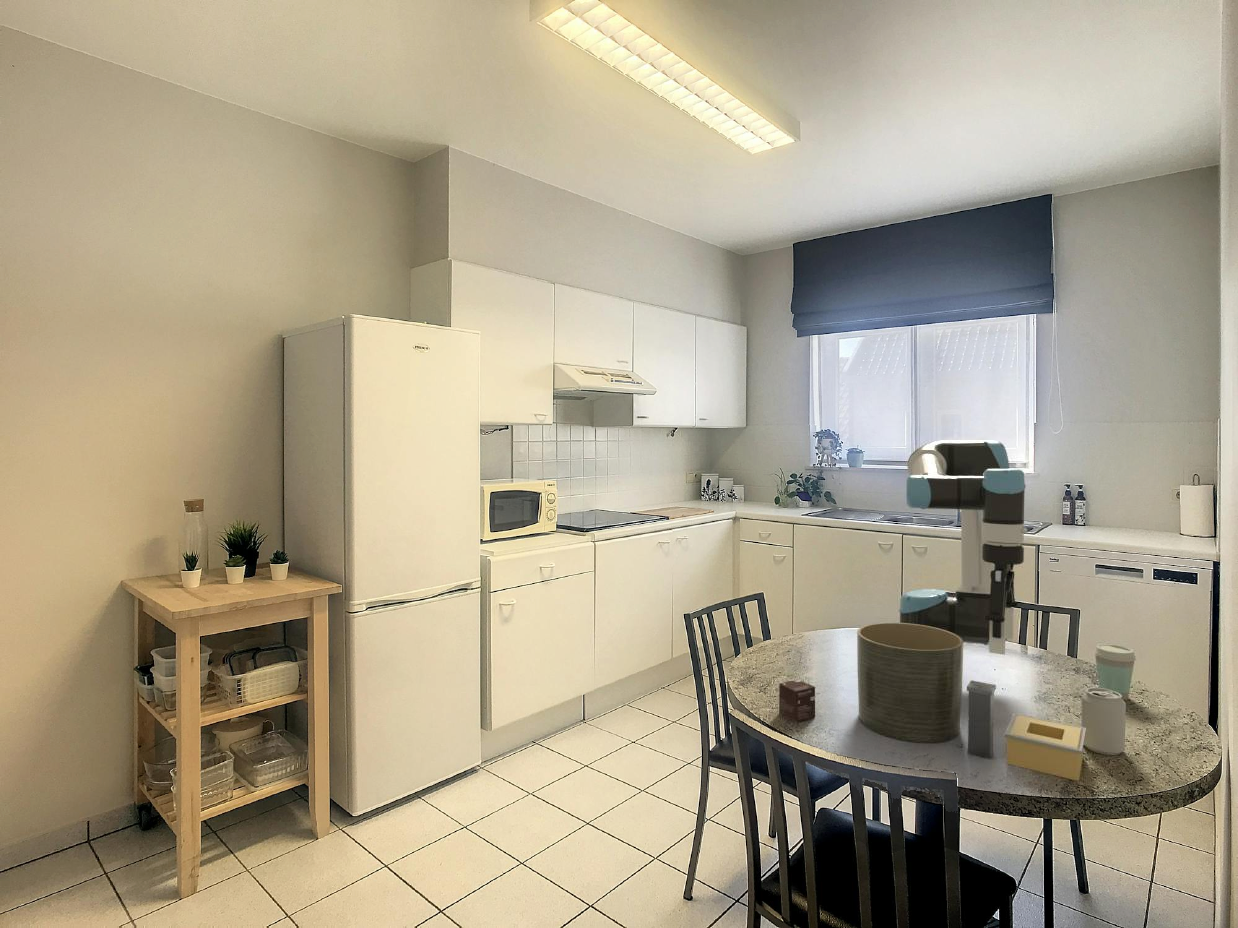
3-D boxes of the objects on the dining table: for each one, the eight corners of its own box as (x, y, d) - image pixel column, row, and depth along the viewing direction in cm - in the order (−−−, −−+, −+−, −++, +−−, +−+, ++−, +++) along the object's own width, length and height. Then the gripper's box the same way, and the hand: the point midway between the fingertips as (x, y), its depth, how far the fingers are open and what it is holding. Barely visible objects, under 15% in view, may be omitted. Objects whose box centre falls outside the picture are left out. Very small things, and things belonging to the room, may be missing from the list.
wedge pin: (966, 753, 142) (966, 686, 141) (970, 745, 145) (971, 680, 145) (991, 760, 139) (992, 691, 138) (995, 751, 142) (995, 684, 142)
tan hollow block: (1004, 763, 137) (1004, 733, 137) (1013, 740, 148) (1013, 712, 147) (1081, 782, 130) (1081, 750, 129) (1085, 756, 140) (1086, 727, 140)
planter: (947, 707, 166) (948, 624, 165) (975, 748, 144) (976, 653, 143) (851, 701, 170) (851, 620, 170) (863, 739, 149) (864, 647, 148)
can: (1072, 741, 147) (1073, 686, 146) (1105, 739, 148) (1106, 684, 147) (1099, 757, 139) (1100, 699, 139) (1134, 756, 140) (1135, 697, 140)
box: (795, 722, 158) (795, 691, 157) (778, 713, 163) (778, 683, 163) (815, 717, 160) (816, 686, 160) (798, 708, 166) (798, 678, 165)
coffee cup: (1142, 703, 167) (1143, 654, 167) (1102, 701, 169) (1103, 652, 169) (1124, 690, 176) (1125, 644, 175) (1086, 688, 177) (1087, 642, 177)
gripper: (1016, 552, 130) (1015, 663, 131) (1029, 538, 151) (1028, 634, 151) (972, 549, 135) (971, 656, 135) (991, 535, 155) (990, 629, 156)
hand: (1001, 645), depth 143 cm, fingers open, 13 cm apart
